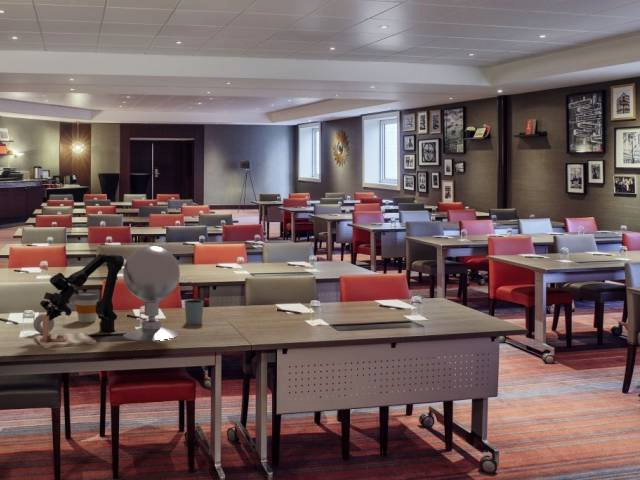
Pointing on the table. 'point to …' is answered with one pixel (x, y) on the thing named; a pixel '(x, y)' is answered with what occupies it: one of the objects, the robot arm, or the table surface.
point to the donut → (38, 323)
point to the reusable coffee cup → (86, 306)
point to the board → (70, 341)
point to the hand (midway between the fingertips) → (45, 322)
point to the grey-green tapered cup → (194, 311)
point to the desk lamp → (151, 288)
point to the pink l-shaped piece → (46, 331)
